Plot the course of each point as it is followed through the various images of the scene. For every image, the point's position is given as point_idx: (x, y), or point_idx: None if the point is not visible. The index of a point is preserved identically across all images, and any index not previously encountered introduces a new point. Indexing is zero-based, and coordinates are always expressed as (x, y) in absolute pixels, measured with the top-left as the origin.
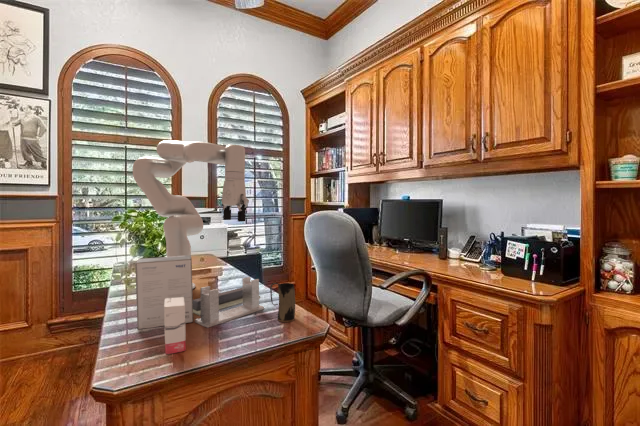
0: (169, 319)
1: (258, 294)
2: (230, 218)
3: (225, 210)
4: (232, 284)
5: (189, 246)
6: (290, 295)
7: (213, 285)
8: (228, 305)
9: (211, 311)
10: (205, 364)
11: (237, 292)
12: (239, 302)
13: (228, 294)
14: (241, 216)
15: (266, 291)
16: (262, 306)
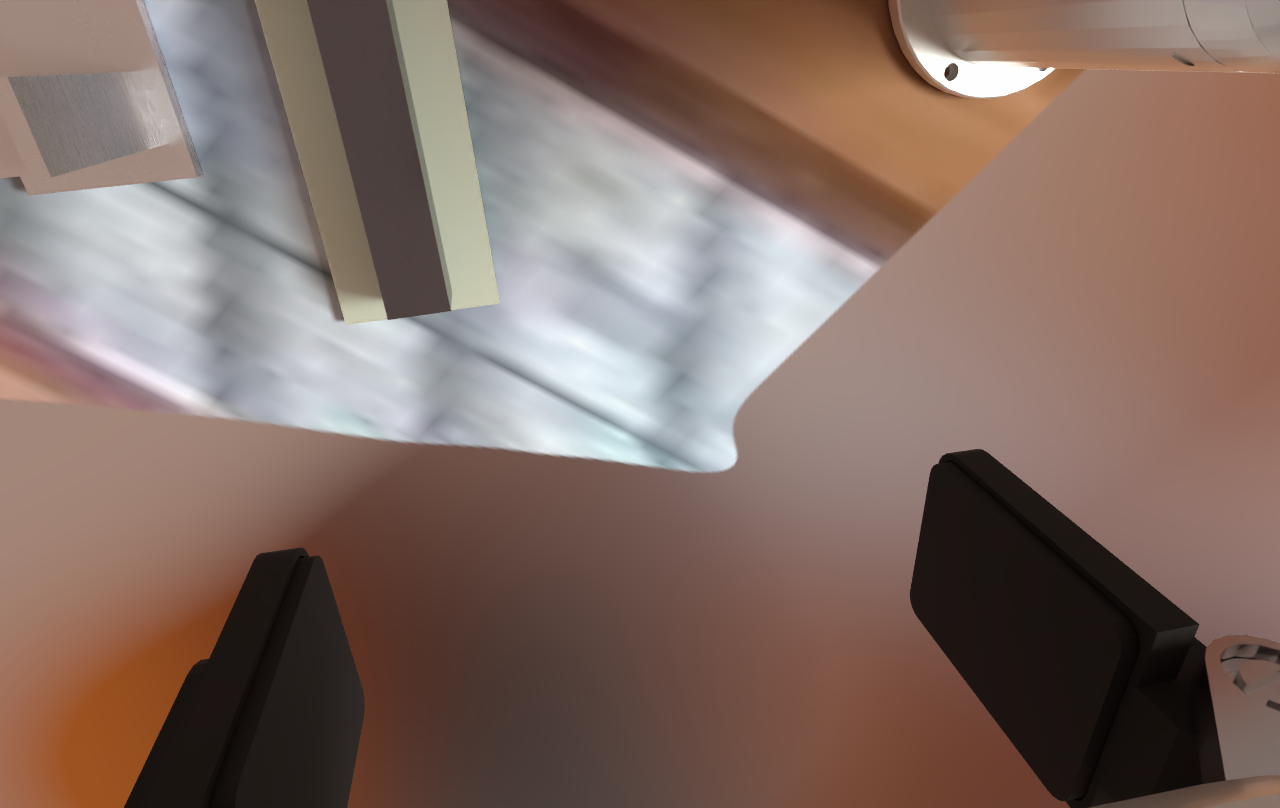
0: None
1: None
2: (921, 608)
3: (1114, 654)
4: (786, 336)
5: (1260, 10)
6: None
7: (868, 220)
8: (258, 7)
9: None
10: None
11: (345, 149)
12: (289, 123)
13: (321, 49)
14: (170, 720)
15: (459, 424)
16: (39, 188)
